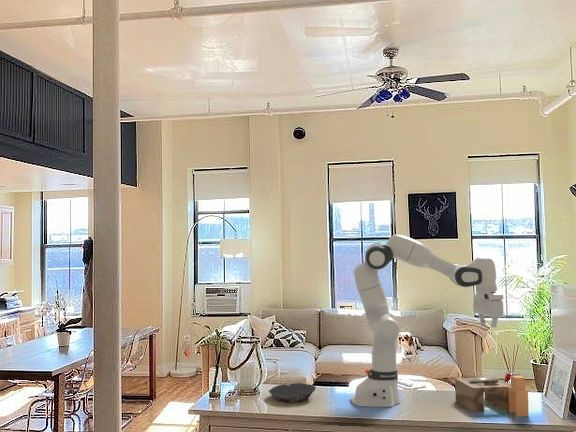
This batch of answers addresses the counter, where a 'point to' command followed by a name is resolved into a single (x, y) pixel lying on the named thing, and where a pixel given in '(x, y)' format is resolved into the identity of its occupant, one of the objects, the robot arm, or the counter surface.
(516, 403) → the stepped wooden block
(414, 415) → the counter surface
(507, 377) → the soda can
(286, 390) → the bowl
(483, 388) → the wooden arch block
